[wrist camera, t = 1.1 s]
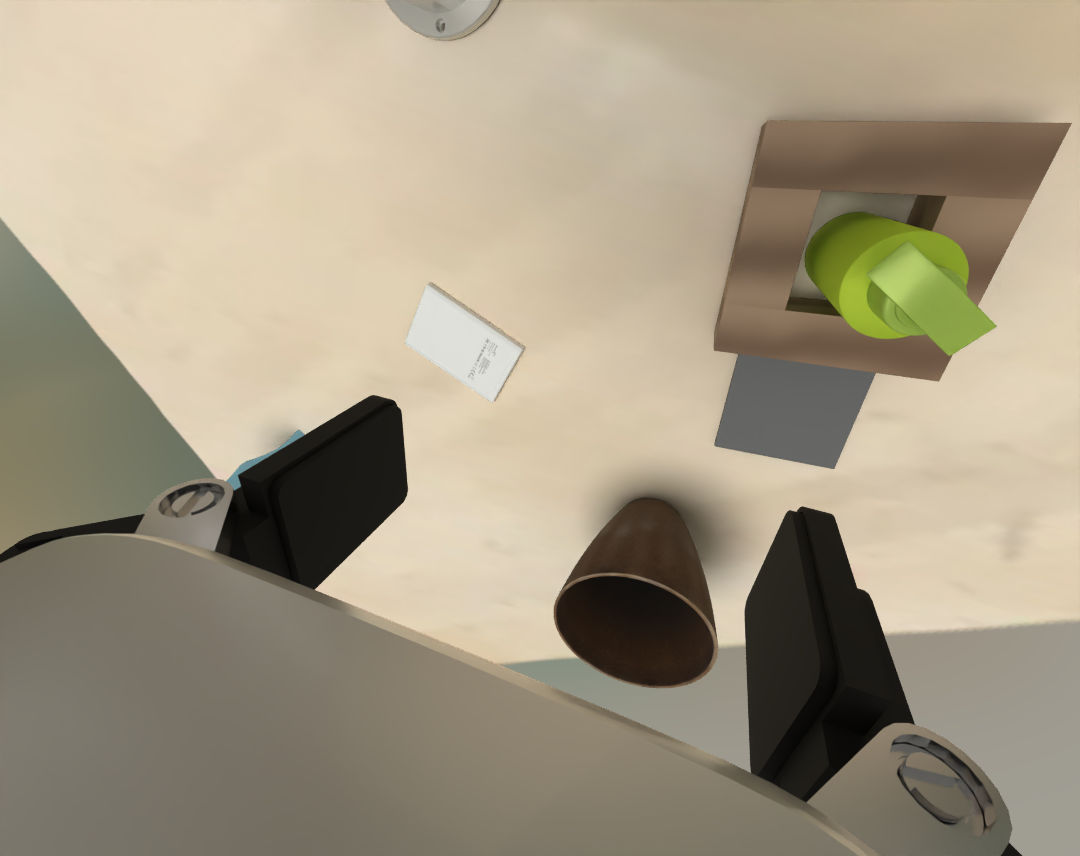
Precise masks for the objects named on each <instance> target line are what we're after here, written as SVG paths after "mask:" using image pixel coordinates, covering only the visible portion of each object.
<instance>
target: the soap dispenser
mask: <svg viewBox="0 0 1080 856" xmlns="http://www.w3.org/2000/svg"><path fill="white" fill-rule="evenodd" d="M805 267H806V271H807V273H808V275H809V277H810V278H811V280H812V281H813V282H814V283H815V285H816V286H817V287H818V288H819V289H820V291H821V292H822V293H823V294H824V295H825V297H826V298H827V299H828V300H829V301H830V303H831V304H832V305H833V306H834V307H835V309H836V310H837V311H838V312H839V313H840V314H841V316H842V317H843V318H844V319H845V320H846V322H847V323H848V324H849V325H850V326H851V327H852V328H854V329H855V330H856V331H858V332H860V333H862V334H864V335H867V336H870V337H874V338H880V339H895V338H902V337H907V336H919V335H925V334H926V335H927V336H928V337H929V338H930V339H931V340H932V341H933V342H934V343H936V344H937V345H938V346H939V347H940V348H941V349H942V350H943V351H944V352H945V353H946V354H947V355H949V356H951V355H952V354H954V353H956V352H957V351H959V350H960V349H962V348H963V347H965V346H967V345H968V344H970V343H971V342H973V341H975V340H976V339H978V338H979V337H981V336H982V335H984V334H986V333H987V332H989V331H990V330H992V329H994V328H995V327H997V326H996V325H995V324H994V323H993V322H992V321H991V320H990V319H989V318H988V317H987V316H986V315H985V314H984V313H983V312H982V311H981V310H980V308H979V307H978V306H977V305H976V304H975V303H974V302H973V301H972V300H971V299H970V298H969V297H968V296H967V287H966V286H967V282H968V276H969V267H968V262H967V258H966V256H965V254H964V252H963V250H962V249H961V248H960V246H959V245H958V244H957V243H955V242H954V241H953V240H952V239H950V238H948V237H946V236H944V235H942V234H939V233H935V232H932V231H928V230H925V229H922V228H918V227H915V226H911V225H908V224H904V223H901V222H897V221H894V220H890V219H887V218H883V217H880V216H876V215H873V214H869V213H863V212H855V213H848V214H844V215H841V216H839V217H837V218H834V219H833V220H831V221H829V222H828V223H826V224H825V225H824V226H823V227H821V228H820V229H819V230H818V231H817V232H816V234H815V235H814V236H813V238H812V239H811V241H810V243H809V245H808V247H807V250H806V254H805Z"/></svg>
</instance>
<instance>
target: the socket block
mask: <svg viewBox="0 0 1080 856" xmlns="http://www.w3.org/2000/svg"><path fill="white" fill-rule="evenodd" d="M1071 124H1072V123H1000V122H882V121H767V122H766V123H765V124H764V125H763V126H762V128H761V133H760V137H759V141H758V146H757V150H756V154H755V159H754V163H753V167H752V172H751V176H750V180H749V185H748V189H747V193H746V198H745V202H744V206H743V211H742V215H741V219H740V224H739V228H738V232H737V237H736V241H735V245H734V250H733V254H732V258H731V263H730V267H729V271H728V276H727V280H726V284H725V289H724V293H723V297H722V302H721V306H720V310H719V315H718V319H717V323H716V328H715V332H714V351H721V352H729V353H736V354H743V355H750V356H758V357H765V358H772V359H779V360H787V361H794V362H801V363H809V364H816V365H823V366H830V367H838V368H845V369H852V370H859V371H867V372H874V373H881V374H888V375H896V376H903V377H910V378H917V379H925V380H932V381H939V380H940V378H941V376H942V374H943V372H944V370H945V369H946V367H947V365H948V363H949V361H950V359H951V357H952V355H953V354H952V355H951V356H949V355H947V354H946V353H945V352H944V351H943V350H942V349H941V348H940V347H939V346H938V345H937V344H936V343H934V342H933V341H932V340H931V339H930V338H929V337H928V336H927V335H926V334H925V335H919V336H907V337H902V338H895V339H880V338H874V337H870V336H867V335H864V334H862V333H860V332H858V331H856V330H855V329H854V328H852V327H851V326H850V325H849V324H848V323H847V322H846V320H845V319H844V318H843V317H842V316H841V314H840V313H839V312H838V311H837V310H836V309H835V307H834V306H833V305H832V304H831V303H830V301H824V300H814V299H805V298H795V297H789V295H790V292H791V289H792V285H793V282H794V279H795V275H796V272H797V269H798V266H799V262H800V259H801V256H802V252H803V249H804V246H805V242H806V239H807V236H808V233H809V229H810V226H811V223H812V219H813V216H814V213H815V210H816V206H817V203H818V200H819V196H820V193H821V190H825V191H848V192H870V193H892V194H914V195H918V196H917V199H916V201H915V204H914V206H913V209H912V211H911V214H910V216H909V219H908V221H907V224H908V225H911V226H915V227H918V228H922V229H925V230H928V231H932V232H935V233H939V234H942V235H944V236H946V237H948V238H950V239H952V240H953V241H954V242H955V243H957V244H958V245H959V246H960V248H961V249H962V250H963V252H964V254H965V256H966V258H967V262H968V267H969V276H968V282H967V286H966V287H967V296H968V297H969V298H970V299H971V300H972V301H973V302H974V303H975V304H976V305H977V306H978V304H979V302H980V301H981V299H982V297H983V295H984V293H985V291H986V289H987V287H988V285H989V283H990V281H991V279H992V277H993V275H994V273H995V271H996V269H997V268H998V266H999V264H1000V262H1001V260H1002V258H1003V256H1004V254H1005V252H1006V250H1007V248H1008V246H1009V244H1010V242H1011V240H1012V238H1013V236H1014V235H1015V233H1016V231H1017V229H1018V227H1019V225H1020V223H1021V221H1022V219H1023V217H1024V215H1025V213H1026V211H1027V209H1028V207H1029V205H1030V203H1031V201H1032V200H1033V198H1034V196H1035V194H1036V192H1037V190H1038V188H1039V186H1040V184H1041V182H1042V180H1043V178H1044V176H1045V174H1046V172H1047V170H1048V168H1049V167H1050V165H1051V163H1052V161H1053V159H1054V157H1055V155H1056V153H1057V151H1058V149H1059V147H1060V145H1061V143H1062V141H1063V139H1064V137H1065V135H1066V133H1067V132H1068V130H1069V128H1070V126H1071Z"/></svg>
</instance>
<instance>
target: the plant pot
mask: <svg viewBox="0 0 1080 856" xmlns="http://www.w3.org/2000/svg"><path fill="white" fill-rule="evenodd" d="M554 621H555V625H556V628H557V630H558V632H559V634H560V636H561V638H562V639H563V641H564V642H565V644H566V645H567V646H568V647H569V648H570V649H571V651H572V652H573V653H574V654H575V655H577V656H578V657H579V658H580V659H581V660H583V661H584V662H585V663H587V664H588V665H590V666H591V667H592V668H594V669H596V670H598V671H599V672H601V673H603V674H605V675H607V676H609V677H612V678H614V679H617V680H619V681H623V682H625V683H629V684H633V685H637V686H642V687H649V688H674V687H680V686H684V685H688V684H691V683H693V682H695V681H697V680H699V679H701V678H702V677H703V676H705V675H706V674H707V673H708V672H709V671H710V670H711V669H712V667H713V666H714V664H715V662H716V659H717V654H718V641H717V634H716V627H715V621H714V615H713V609H712V604H711V599H710V595H709V590H708V587H707V583H706V579H705V575H704V572H703V568H702V565H701V562H700V559H699V556H698V553H697V550H696V548H695V545H694V543H693V540H692V538H691V536H690V533H689V531H688V529H687V527H686V525H685V523H684V521H683V519H682V518H681V516H680V514H679V513H678V512H677V510H675V509H674V508H673V507H672V506H670V505H669V504H667V503H665V502H663V501H660V500H656V499H649V498H645V499H638V500H635V501H633V502H631V503H629V504H628V505H627V506H625V507H624V508H623V509H622V510H621V511H620V512H619V513H618V514H616V515H615V516H614V517H613V518H612V519H611V520H610V521H609V523H608V524H607V525H606V526H605V527H604V528H603V529H602V530H601V531H600V533H599V534H598V535H597V536H596V538H595V539H594V540H593V541H592V543H591V544H590V545H589V547H588V548H587V549H586V551H585V552H584V554H583V555H582V557H581V558H580V560H579V561H578V563H577V564H576V566H575V567H574V569H573V571H572V573H571V574H570V576H569V578H568V579H567V581H566V583H565V584H564V586H563V588H562V590H561V591H560V593H559V595H558V597H557V599H556V601H555V605H554Z"/></svg>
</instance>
